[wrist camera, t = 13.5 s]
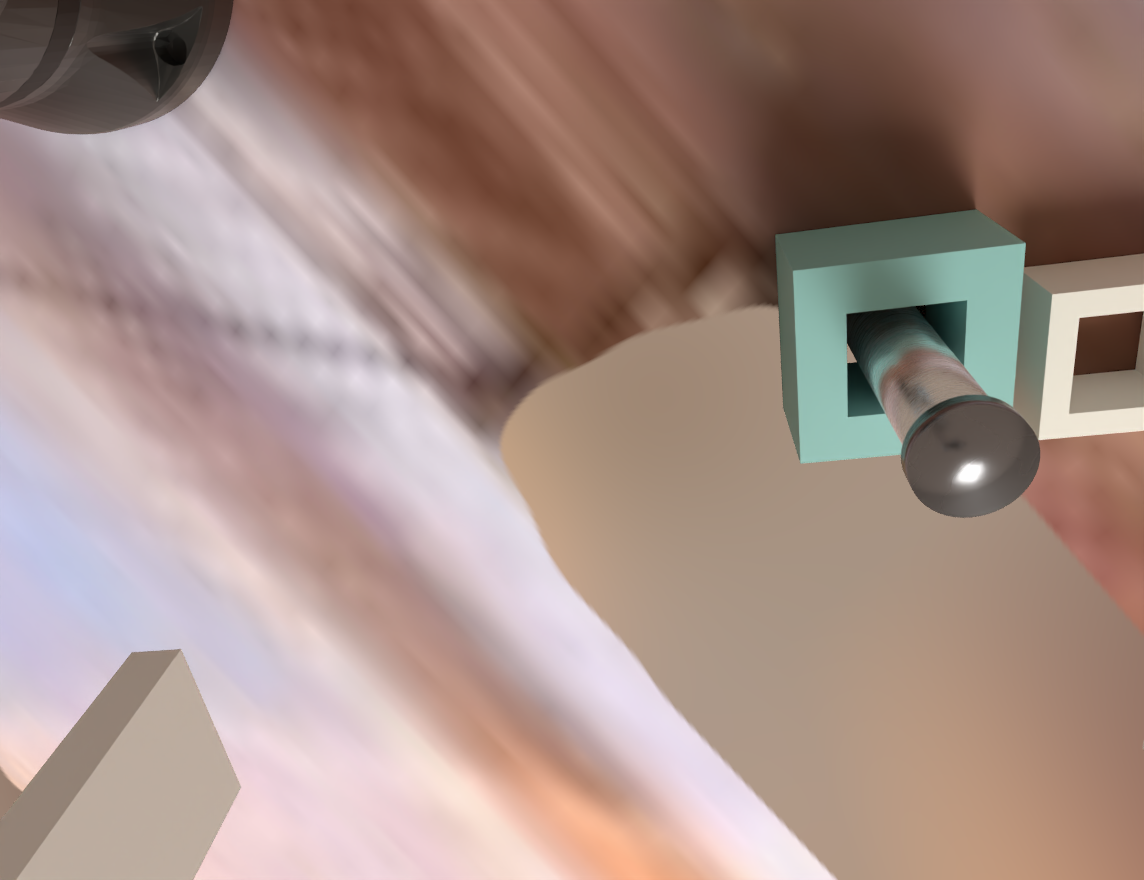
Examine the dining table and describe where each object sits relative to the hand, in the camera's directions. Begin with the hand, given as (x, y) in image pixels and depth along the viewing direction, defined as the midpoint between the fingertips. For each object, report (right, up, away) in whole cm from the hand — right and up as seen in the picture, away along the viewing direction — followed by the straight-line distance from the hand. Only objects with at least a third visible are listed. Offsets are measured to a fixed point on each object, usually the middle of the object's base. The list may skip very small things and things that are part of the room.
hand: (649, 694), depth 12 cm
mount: (+24, +9, +30) cm, 39 cm away
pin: (+14, +10, +31) cm, 35 cm away
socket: (+14, +10, +31) cm, 35 cm away
